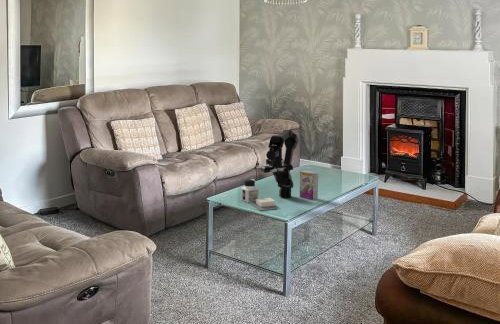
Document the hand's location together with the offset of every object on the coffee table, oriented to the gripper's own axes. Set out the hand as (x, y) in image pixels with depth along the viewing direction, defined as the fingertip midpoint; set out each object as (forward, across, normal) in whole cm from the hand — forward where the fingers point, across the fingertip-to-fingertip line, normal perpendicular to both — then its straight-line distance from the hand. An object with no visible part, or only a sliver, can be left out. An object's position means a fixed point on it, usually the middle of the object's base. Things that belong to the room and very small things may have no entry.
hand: (277, 182), depth 354 cm
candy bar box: (+13, -22, -2) cm, 26 cm away
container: (+13, +14, -10) cm, 21 cm away
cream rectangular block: (+10, +5, +4) cm, 12 cm away
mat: (+12, +11, +5) cm, 17 cm away
